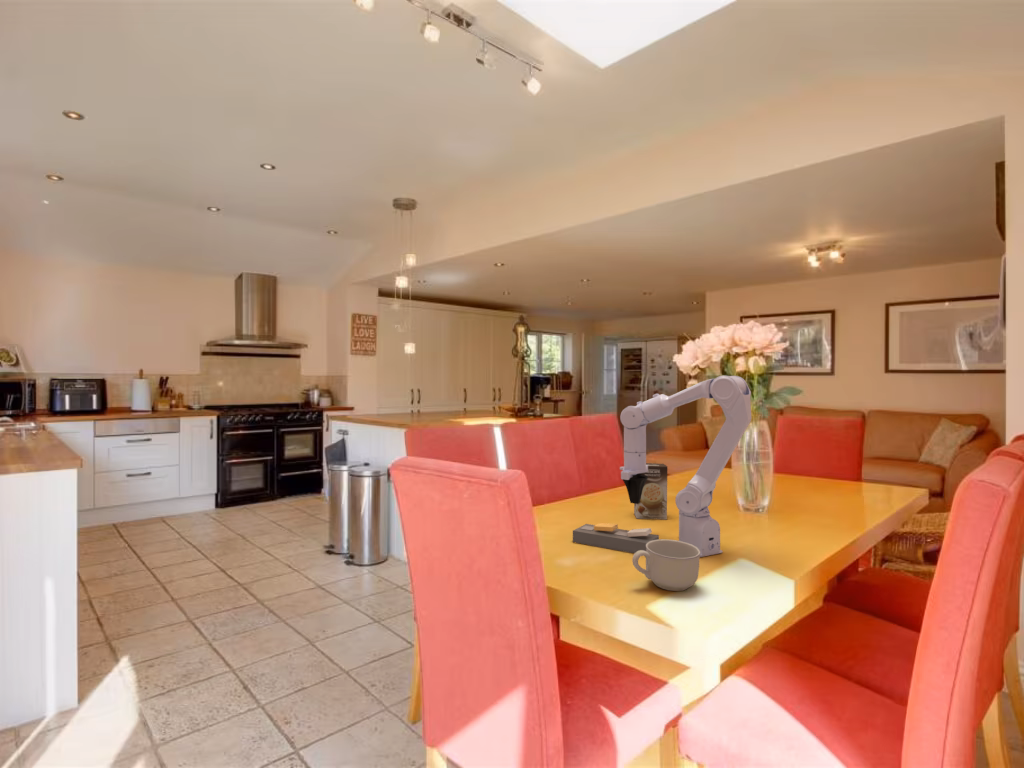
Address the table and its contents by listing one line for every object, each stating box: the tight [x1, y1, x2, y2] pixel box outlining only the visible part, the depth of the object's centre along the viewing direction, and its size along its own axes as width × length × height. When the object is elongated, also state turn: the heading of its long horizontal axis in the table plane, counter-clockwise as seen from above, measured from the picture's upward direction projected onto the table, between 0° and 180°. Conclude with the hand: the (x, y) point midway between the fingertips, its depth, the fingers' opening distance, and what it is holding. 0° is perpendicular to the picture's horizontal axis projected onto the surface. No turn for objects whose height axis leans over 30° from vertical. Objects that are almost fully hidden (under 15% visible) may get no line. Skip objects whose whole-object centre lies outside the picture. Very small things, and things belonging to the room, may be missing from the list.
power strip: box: [572, 523, 660, 554], centre depth 140 cm, size 20×8×3 cm, turn 57°
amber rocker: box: [594, 522, 619, 531], centre depth 141 cm, size 5×4×1 cm
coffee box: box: [633, 462, 668, 520], centre depth 168 cm, size 9×6×16 cm
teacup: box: [631, 538, 701, 592], centre depth 112 cm, size 14×11×8 cm
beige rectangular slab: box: [627, 527, 653, 537], centre depth 136 cm, size 5×4×1 cm
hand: (635, 503), depth 145 cm, fingers closed
